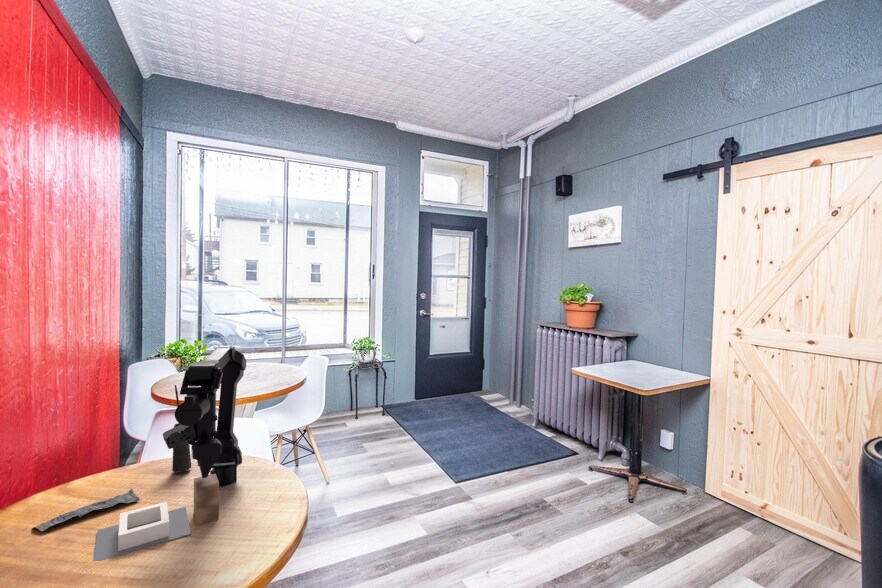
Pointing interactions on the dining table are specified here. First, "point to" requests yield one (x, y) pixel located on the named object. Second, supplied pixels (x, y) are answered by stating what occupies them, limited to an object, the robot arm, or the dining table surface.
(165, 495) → the dining table surface
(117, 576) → the dining table surface
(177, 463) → the butter churn
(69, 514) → the grey flat stone bar
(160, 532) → the square frame on plate
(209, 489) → the wooden block
